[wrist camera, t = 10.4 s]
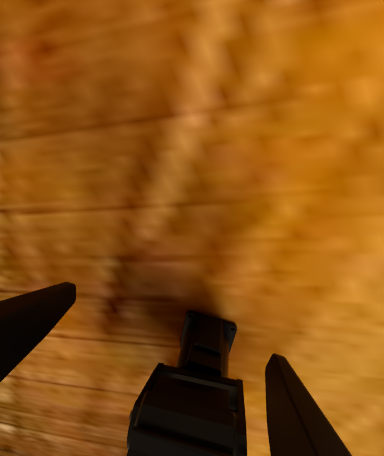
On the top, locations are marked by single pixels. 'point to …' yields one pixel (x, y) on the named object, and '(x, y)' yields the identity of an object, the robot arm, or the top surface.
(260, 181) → the top surface
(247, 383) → the top surface
